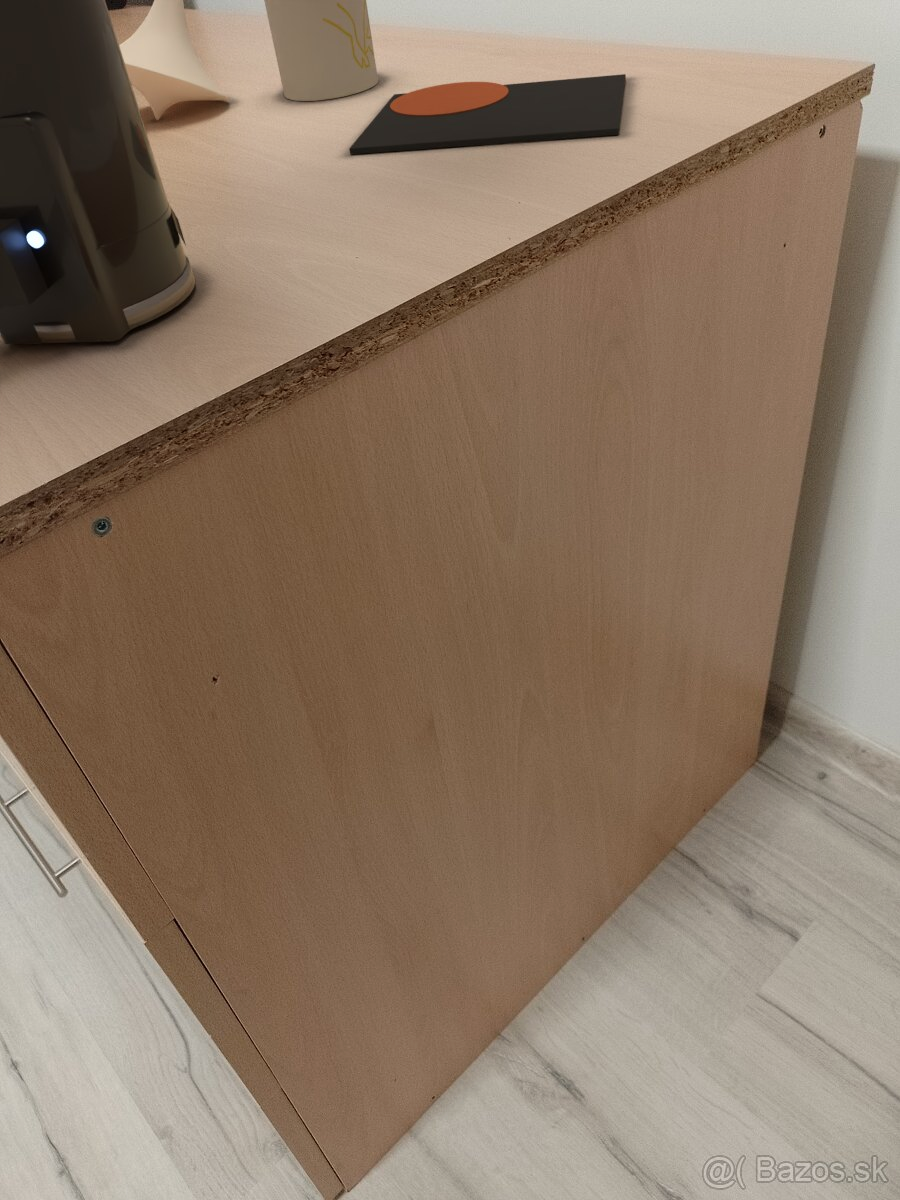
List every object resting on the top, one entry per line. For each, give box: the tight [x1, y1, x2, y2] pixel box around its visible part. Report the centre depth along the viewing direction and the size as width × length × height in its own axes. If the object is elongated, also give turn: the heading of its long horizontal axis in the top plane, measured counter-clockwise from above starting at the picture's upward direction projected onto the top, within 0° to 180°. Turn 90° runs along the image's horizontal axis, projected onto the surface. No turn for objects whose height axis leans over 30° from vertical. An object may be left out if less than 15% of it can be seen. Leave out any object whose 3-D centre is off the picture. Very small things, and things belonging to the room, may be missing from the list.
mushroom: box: [119, 0, 230, 121], centre depth 73 cm, size 10×11×12 cm
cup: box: [263, 0, 379, 102], centre depth 73 cm, size 8×8×12 cm
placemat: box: [348, 73, 627, 155], centre depth 64 cm, size 16×18×1 cm
